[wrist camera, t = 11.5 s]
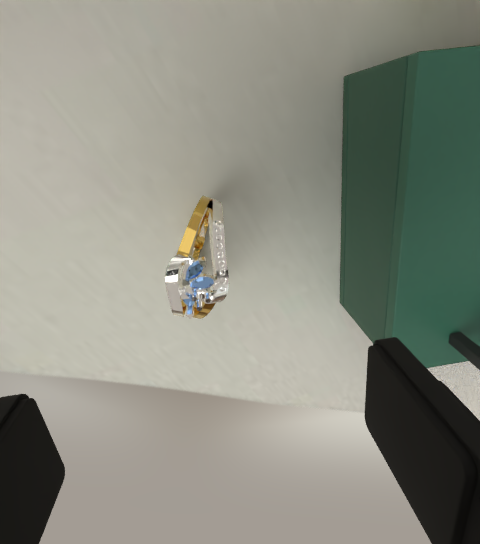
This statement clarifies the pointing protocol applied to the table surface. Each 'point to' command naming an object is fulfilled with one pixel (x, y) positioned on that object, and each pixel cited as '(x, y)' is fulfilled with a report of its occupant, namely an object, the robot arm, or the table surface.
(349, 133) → the box
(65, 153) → the table surface
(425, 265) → the lunchbox lid
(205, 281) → the ring
